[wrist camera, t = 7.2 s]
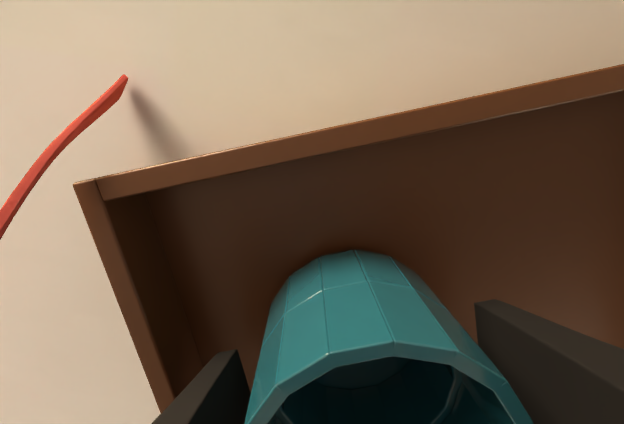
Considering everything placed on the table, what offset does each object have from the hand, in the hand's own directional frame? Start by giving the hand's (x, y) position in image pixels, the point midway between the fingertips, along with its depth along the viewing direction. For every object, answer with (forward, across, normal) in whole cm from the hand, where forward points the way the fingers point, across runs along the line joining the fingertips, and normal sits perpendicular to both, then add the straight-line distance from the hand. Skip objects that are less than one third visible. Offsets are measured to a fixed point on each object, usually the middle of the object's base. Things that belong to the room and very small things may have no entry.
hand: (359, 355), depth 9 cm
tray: (+2, -3, 0) cm, 4 cm away
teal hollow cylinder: (+2, 0, 0) cm, 2 cm away
